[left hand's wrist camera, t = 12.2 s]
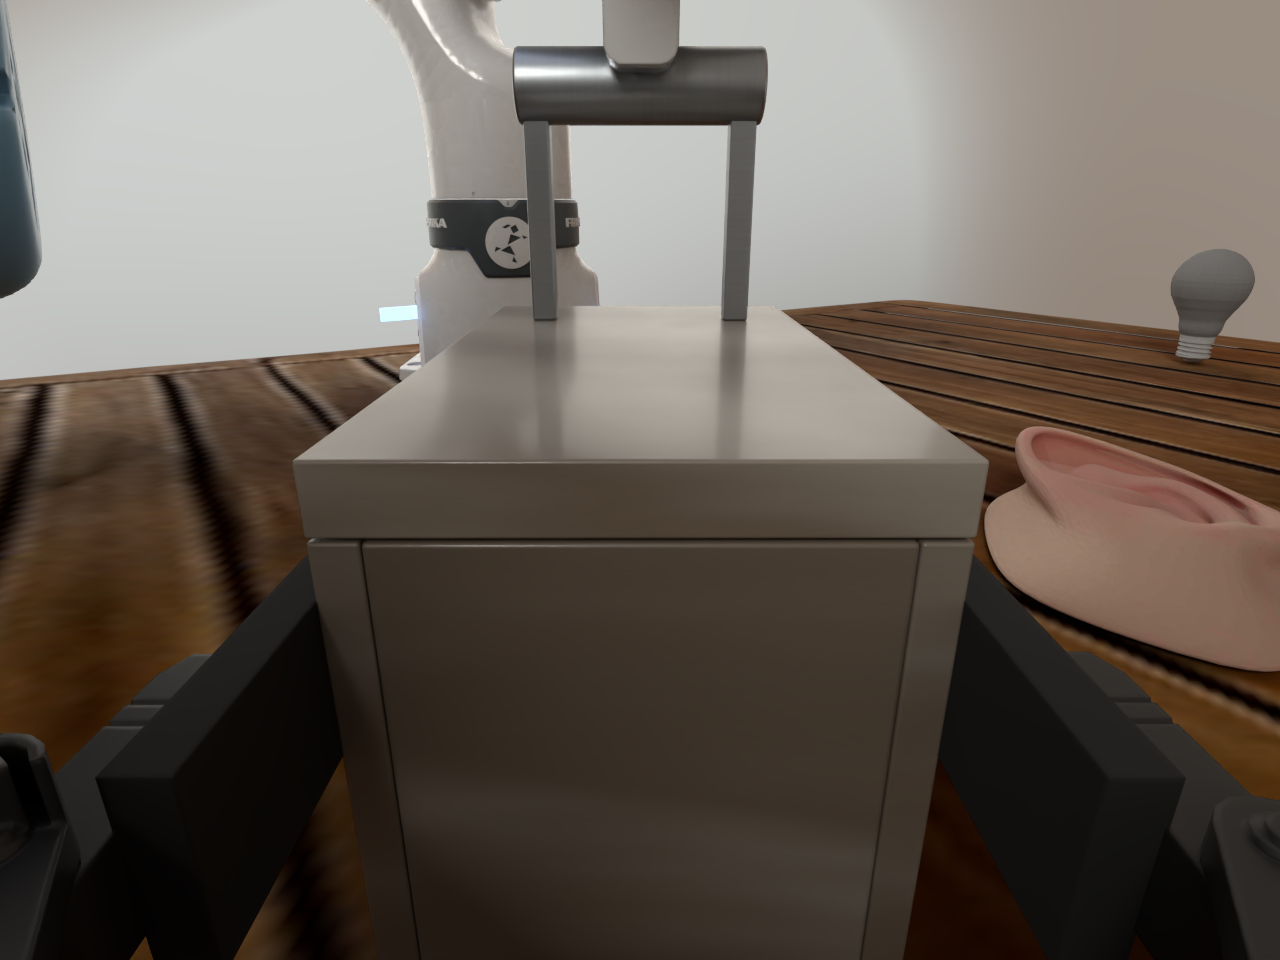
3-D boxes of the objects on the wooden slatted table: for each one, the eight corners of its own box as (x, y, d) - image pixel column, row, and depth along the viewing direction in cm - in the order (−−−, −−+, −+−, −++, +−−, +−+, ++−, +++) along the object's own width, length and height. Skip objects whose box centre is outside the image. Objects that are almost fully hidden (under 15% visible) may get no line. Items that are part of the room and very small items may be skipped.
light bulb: (1169, 366, 67) (1199, 250, 63) (1142, 353, 72) (1167, 247, 69) (1245, 369, 66) (1279, 251, 62) (1211, 356, 71) (1240, 247, 68)
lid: (506, 339, 25) (489, 68, 23) (773, 339, 25) (790, 68, 23) (303, 540, 10) (171, -231, 7) (977, 540, 10) (1111, -230, 7)
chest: (518, 595, 28) (501, 345, 25) (761, 595, 28) (777, 344, 25) (386, 1018, 13) (304, 543, 10) (894, 1017, 13) (977, 542, 10)
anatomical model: (1437, 583, 20) (978, 506, 25) (1386, 705, 21) (960, 609, 27) (1306, 450, 31) (1004, 415, 36) (1277, 536, 32) (991, 491, 37)
